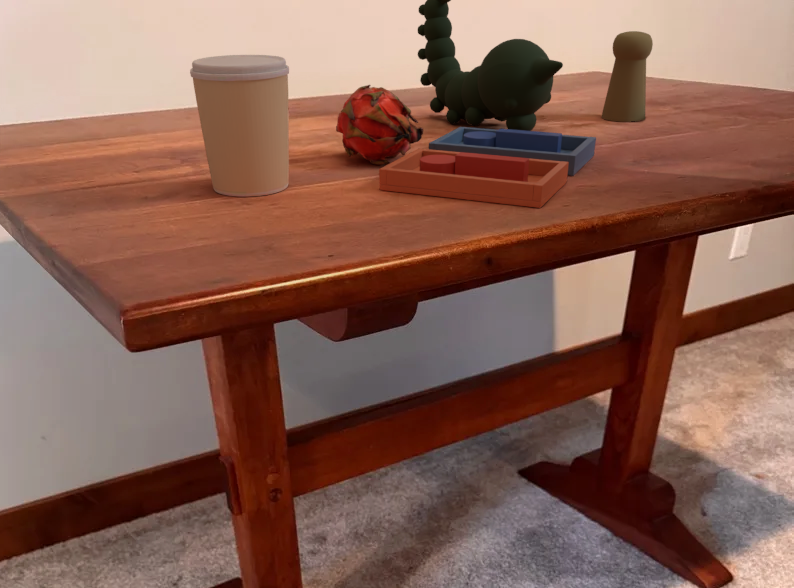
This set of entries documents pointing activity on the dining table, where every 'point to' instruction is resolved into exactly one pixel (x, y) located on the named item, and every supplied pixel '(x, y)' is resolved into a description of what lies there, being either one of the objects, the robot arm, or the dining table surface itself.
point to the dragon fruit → (376, 125)
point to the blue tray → (572, 149)
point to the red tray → (474, 181)
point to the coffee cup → (244, 122)
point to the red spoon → (478, 166)
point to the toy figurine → (484, 76)
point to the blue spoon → (516, 140)
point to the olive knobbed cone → (628, 78)
